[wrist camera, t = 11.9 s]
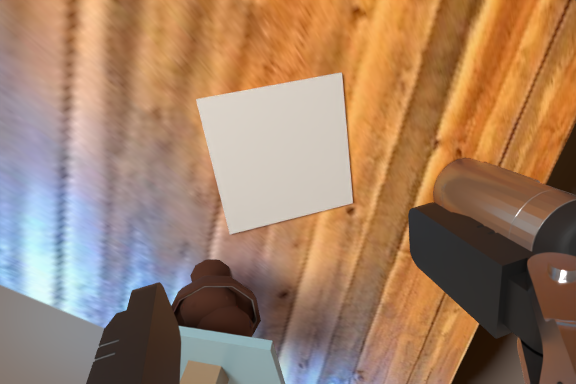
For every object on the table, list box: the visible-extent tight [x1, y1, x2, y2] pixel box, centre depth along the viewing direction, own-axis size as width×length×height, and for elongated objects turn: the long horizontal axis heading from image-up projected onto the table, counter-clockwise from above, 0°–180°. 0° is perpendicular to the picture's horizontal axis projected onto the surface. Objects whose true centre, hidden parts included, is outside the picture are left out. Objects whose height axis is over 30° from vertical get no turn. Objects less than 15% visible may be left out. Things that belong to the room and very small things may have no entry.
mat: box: [196, 73, 353, 234], centre depth 45 cm, size 18×18×1 cm
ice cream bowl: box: [171, 260, 261, 337], centre depth 42 cm, size 11×11×15 cm
